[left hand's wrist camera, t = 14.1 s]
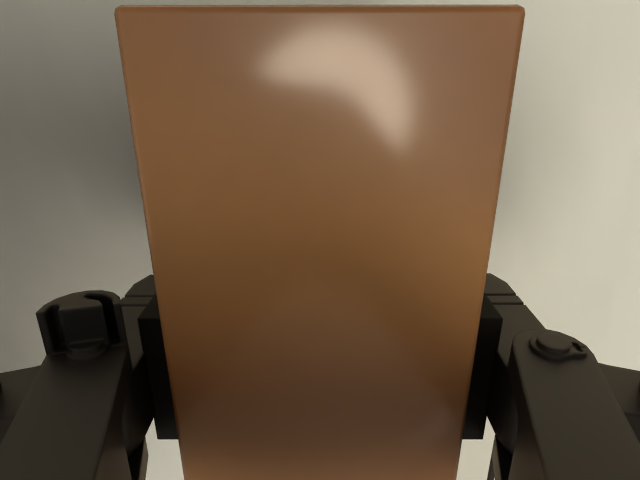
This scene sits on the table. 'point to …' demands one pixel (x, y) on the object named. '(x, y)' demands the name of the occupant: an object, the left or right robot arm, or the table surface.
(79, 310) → the left robot arm
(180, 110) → the post
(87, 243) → the table surface
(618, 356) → the table surface
